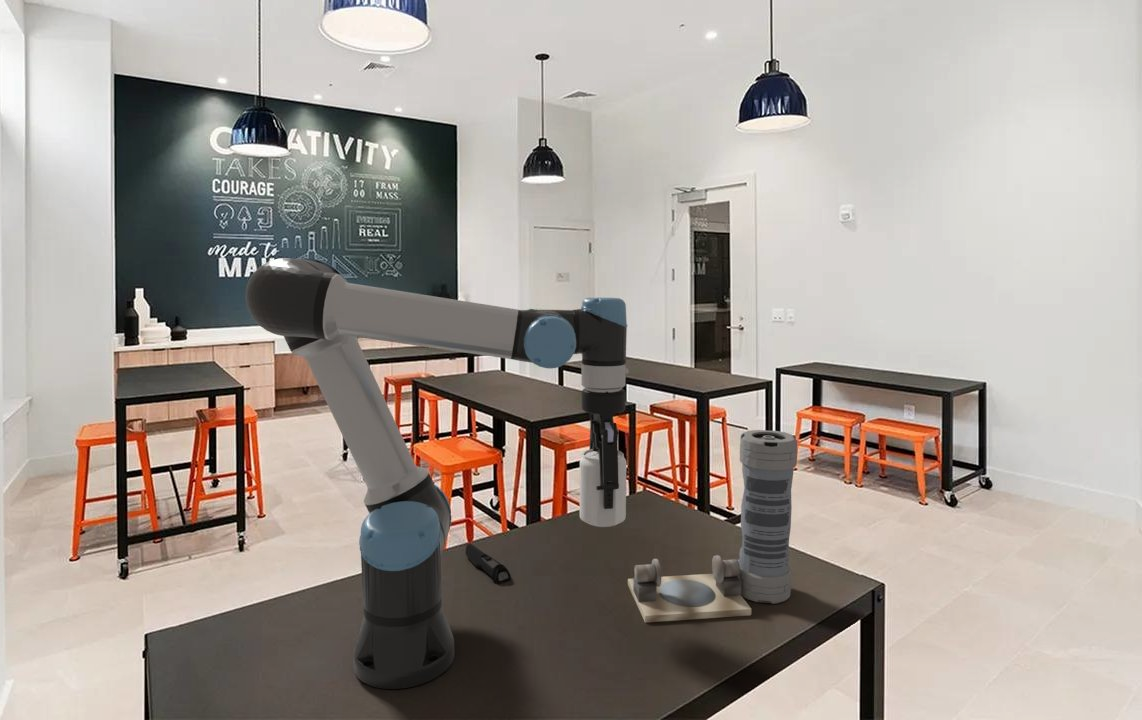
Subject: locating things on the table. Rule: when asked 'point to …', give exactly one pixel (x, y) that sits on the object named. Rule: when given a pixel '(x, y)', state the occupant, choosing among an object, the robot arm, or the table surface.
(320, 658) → the table surface
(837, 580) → the table surface
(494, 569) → the electric trimmer
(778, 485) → the canister
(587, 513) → the beverage can
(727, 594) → the cradle
